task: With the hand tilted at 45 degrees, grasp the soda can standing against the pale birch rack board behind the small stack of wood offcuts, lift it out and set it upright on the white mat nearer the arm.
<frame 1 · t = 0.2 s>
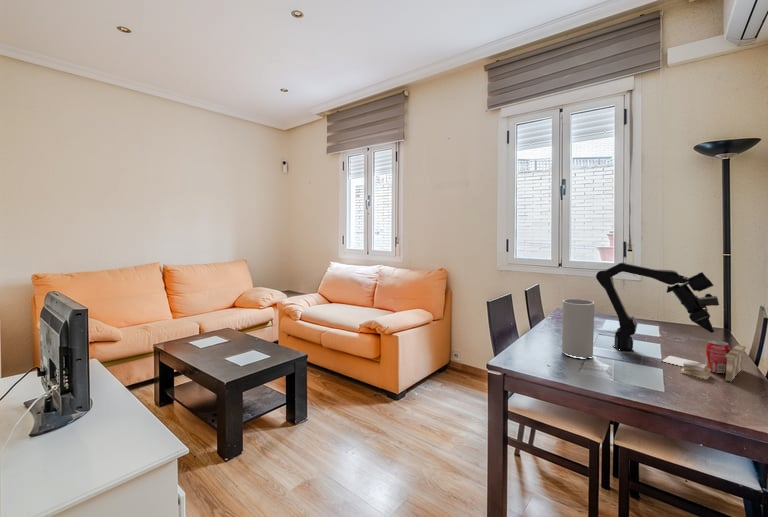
hand: (711, 329, 147), 15 cm above the table, tool tilted 35°, fingers open, 9 cm apart
cylinder vase: (577, 355, 161), on the table
white mat: (679, 362, 150), on the table
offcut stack: (695, 375, 138), on the table
soda can: (716, 371, 140), on the table
rack board: (734, 375, 136), on the table
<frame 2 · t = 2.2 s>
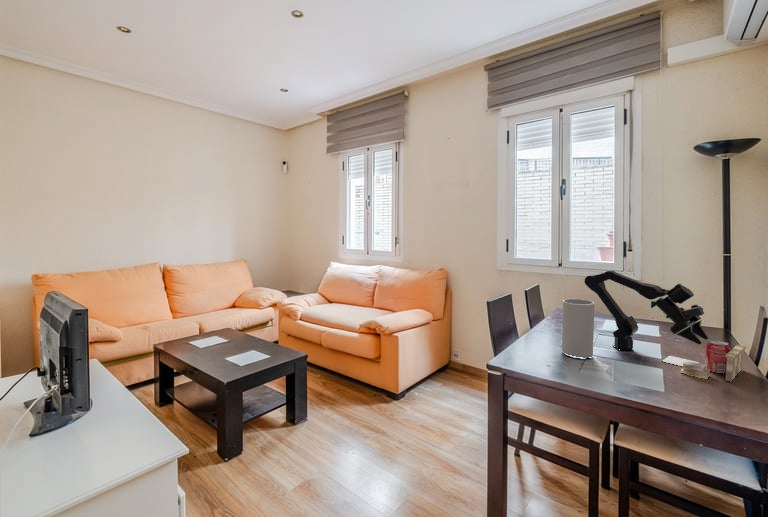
hand: (704, 341, 143), 11 cm above the table, tool tilted 45°, fingers open, 9 cm apart
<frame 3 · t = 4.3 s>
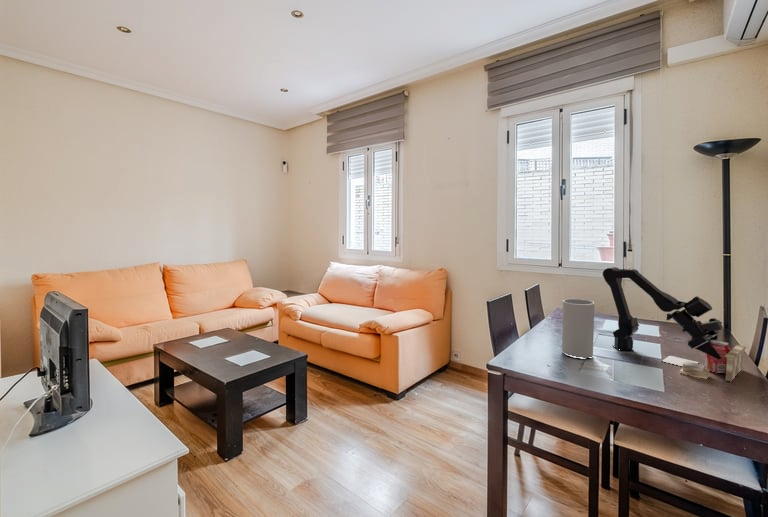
hand: (722, 356, 138), 7 cm above the table, tool tilted 45°, fingers closed on soda can, 7 cm apart
soda can: (716, 371, 140), on the table, touching gripper
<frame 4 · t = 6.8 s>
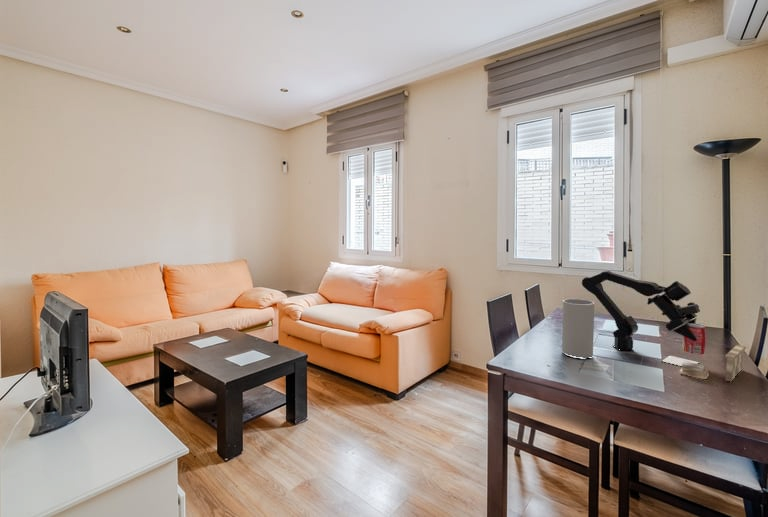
hand: (698, 338, 144), 12 cm above the table, tool tilted 45°, fingers closed on soda can, 7 cm apart
soda can: (692, 353, 146), point 5 cm above the table, touching gripper
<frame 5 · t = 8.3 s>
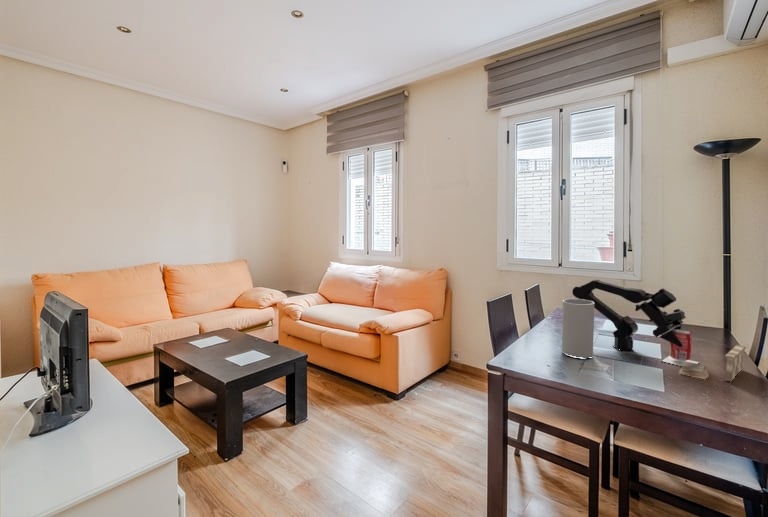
hand: (684, 344, 148), 8 cm above the table, tool tilted 45°, fingers closed on soda can, 7 cm apart
soda can: (679, 359, 150), point 1 cm above the table, touching gripper
when the fingers open (8 cm above the table, at t = 9.4 s): soda can stays where it is, resting on white mat.
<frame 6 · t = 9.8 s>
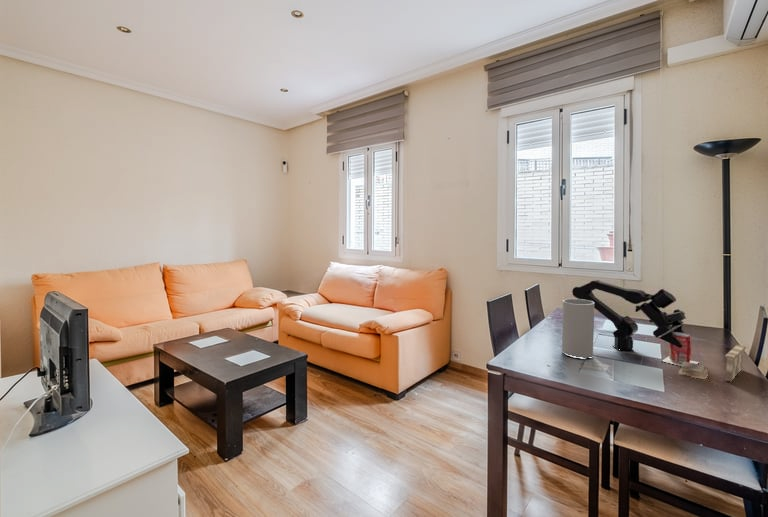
hand: (685, 345, 148), 8 cm above the table, tool tilted 45°, fingers open, 9 cm apart
soda can: (679, 361, 150), resting on white mat
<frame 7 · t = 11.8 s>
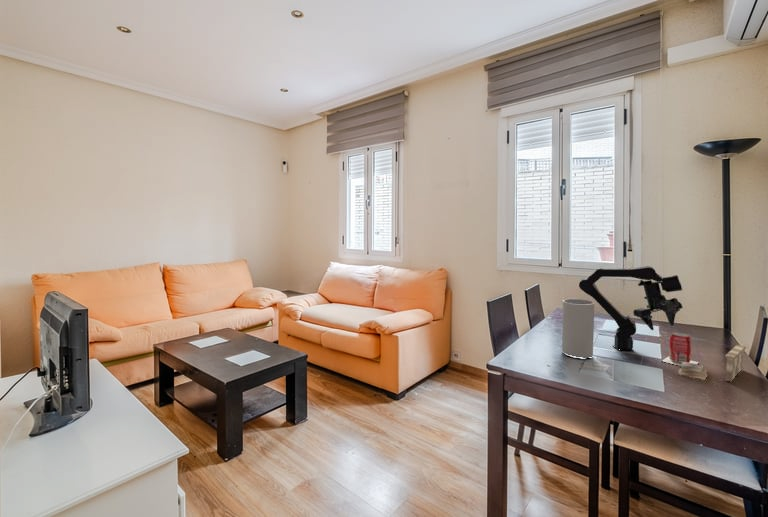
hand: (662, 327, 158), 12 cm above the table, tool pointing down, fingers open, 9 cm apart
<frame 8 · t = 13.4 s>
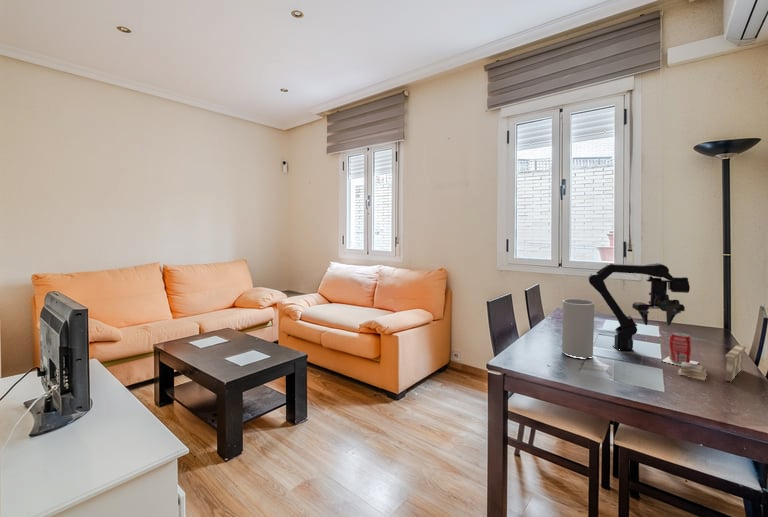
hand: (657, 325, 160), 13 cm above the table, tool pointing down, fingers open, 9 cm apart
at the end: soda can inside the target area on the white mat (0.2 cm from its centre), point 0.2 cm above the white mat's base; soda can tilted 0°; the gripper is holding nothing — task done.
